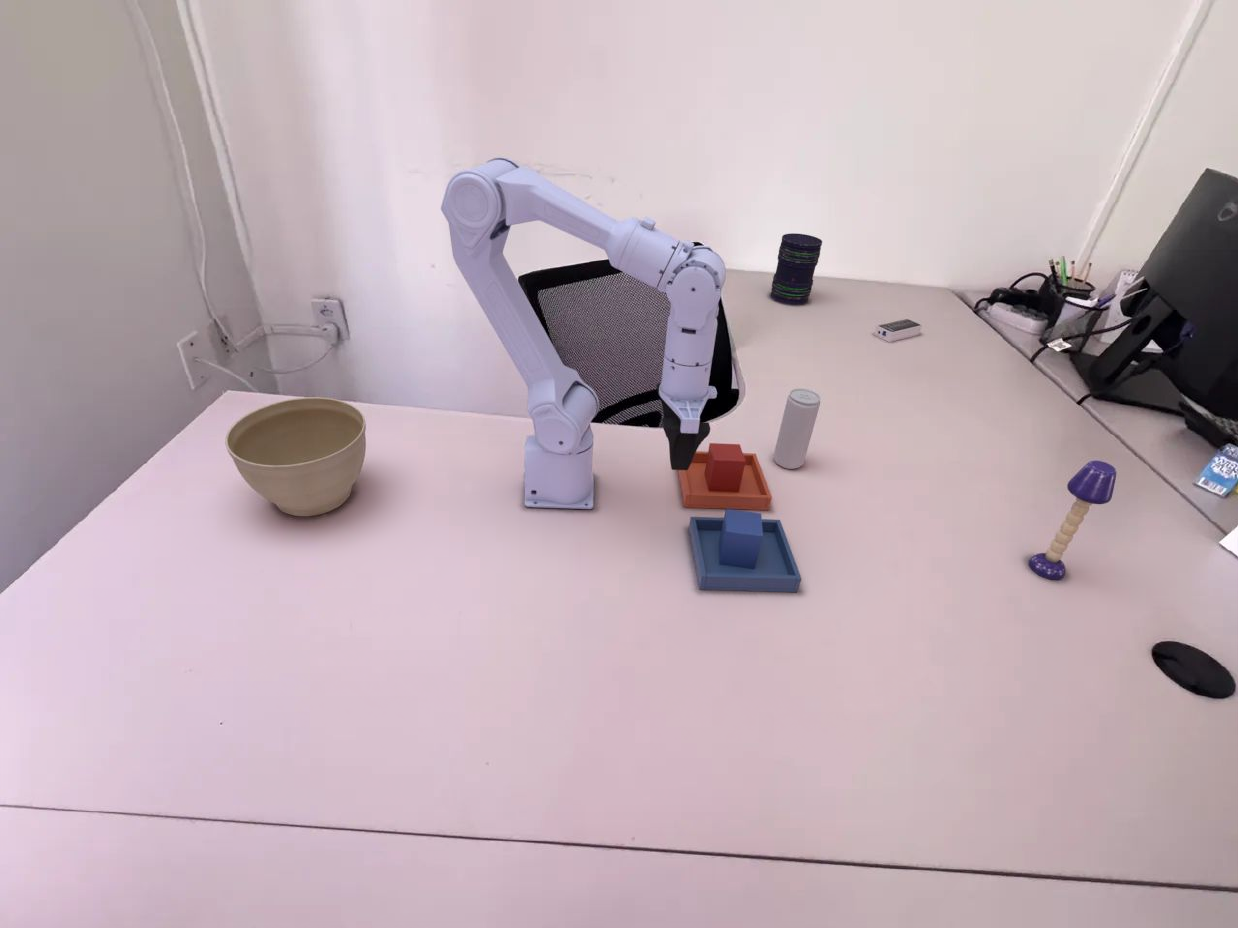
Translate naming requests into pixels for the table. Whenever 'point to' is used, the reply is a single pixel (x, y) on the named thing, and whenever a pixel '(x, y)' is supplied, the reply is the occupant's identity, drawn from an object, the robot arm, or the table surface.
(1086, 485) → the toy lamp
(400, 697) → the table surface
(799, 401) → the beverage can
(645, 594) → the table surface
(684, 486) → the orange tray
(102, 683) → the table surface
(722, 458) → the red block
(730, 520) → the blue block
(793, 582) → the blue tray
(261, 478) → the planter bowl
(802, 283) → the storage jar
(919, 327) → the multiport hub
